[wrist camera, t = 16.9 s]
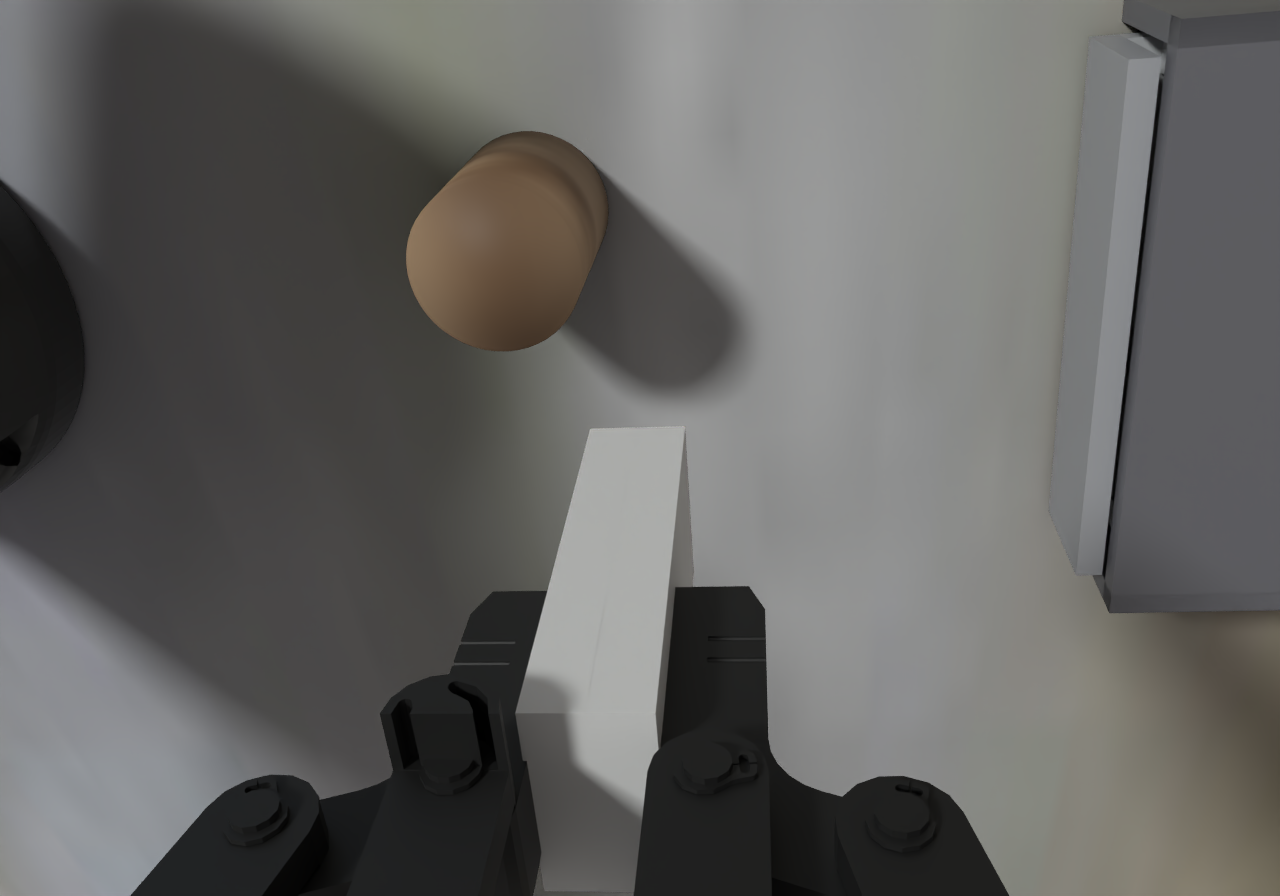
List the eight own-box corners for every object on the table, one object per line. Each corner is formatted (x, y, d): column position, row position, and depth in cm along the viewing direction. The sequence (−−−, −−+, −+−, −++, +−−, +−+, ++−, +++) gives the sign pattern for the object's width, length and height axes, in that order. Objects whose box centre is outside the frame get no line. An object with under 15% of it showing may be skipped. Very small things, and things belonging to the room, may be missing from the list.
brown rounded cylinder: (471, 285, 38) (423, 355, 33) (445, 137, 36) (390, 187, 31) (616, 276, 37) (591, 347, 32) (599, 125, 35) (569, 174, 30)
